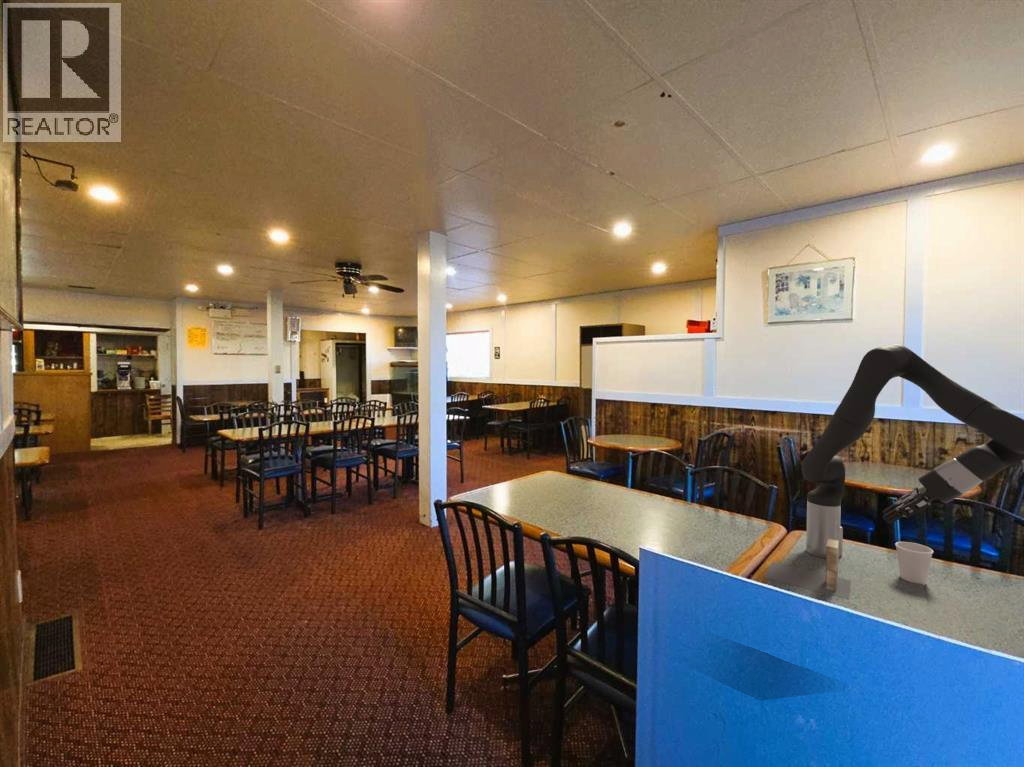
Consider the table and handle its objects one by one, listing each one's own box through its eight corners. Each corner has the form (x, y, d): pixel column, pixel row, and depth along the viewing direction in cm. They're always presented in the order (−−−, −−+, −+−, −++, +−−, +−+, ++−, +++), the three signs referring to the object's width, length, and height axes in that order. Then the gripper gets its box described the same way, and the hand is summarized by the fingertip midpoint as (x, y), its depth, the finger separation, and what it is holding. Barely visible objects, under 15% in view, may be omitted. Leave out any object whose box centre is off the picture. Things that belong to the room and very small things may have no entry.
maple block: (837, 581, 128) (838, 540, 127) (836, 591, 122) (837, 548, 122) (827, 579, 129) (828, 538, 129) (825, 588, 124) (826, 545, 124)
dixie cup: (940, 588, 125) (941, 553, 125) (906, 585, 127) (907, 551, 126) (919, 575, 133) (920, 542, 133) (887, 572, 135) (888, 540, 134)
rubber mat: (850, 582, 129) (850, 580, 129) (848, 601, 118) (848, 599, 118) (772, 563, 141) (772, 561, 141) (763, 578, 130) (763, 577, 130)
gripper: (932, 463, 117) (872, 500, 125) (938, 473, 106) (872, 512, 114) (960, 487, 114) (897, 523, 122) (969, 499, 103) (899, 538, 111)
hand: (885, 517), depth 118 cm, fingers open, 5 cm apart
